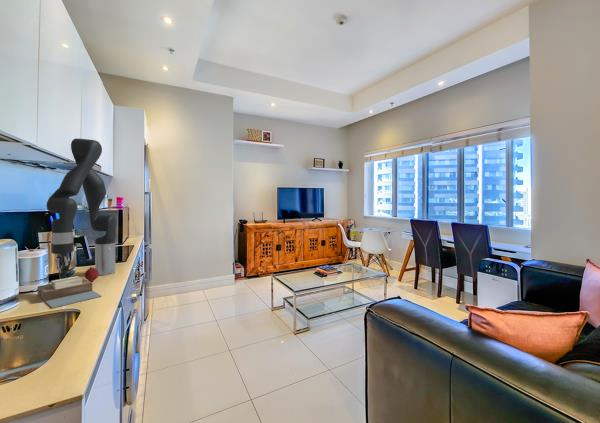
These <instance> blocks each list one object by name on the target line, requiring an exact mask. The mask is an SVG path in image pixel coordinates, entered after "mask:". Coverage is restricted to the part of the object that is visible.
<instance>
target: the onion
mask: <svg viewBox="0 0 600 423" xmlns="http://www.w3.org/2000/svg"><path fill="white" fill-rule="evenodd" d="M99 276H100V275H99V272H98V270H97V269H95V267H93V265H91V266H90V267H89V269H86V271H85V272H84V279H86V280H88V281H90V282H92V283H93V282H94V281H95V280H97V279H98V278H99Z"/></svg>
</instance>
